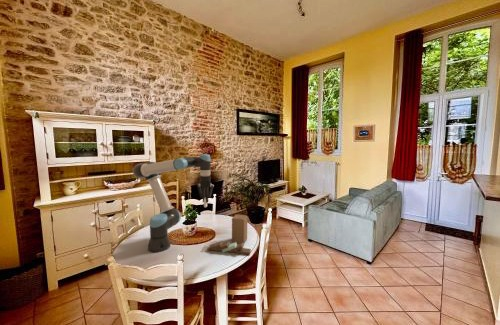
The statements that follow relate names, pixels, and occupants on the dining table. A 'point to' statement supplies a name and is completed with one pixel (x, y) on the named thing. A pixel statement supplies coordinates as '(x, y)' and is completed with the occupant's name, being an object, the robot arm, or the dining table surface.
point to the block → (239, 229)
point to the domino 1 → (215, 246)
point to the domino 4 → (243, 251)
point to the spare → (230, 247)
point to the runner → (217, 251)
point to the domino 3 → (237, 247)
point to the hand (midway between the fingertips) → (205, 206)
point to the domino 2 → (224, 245)
